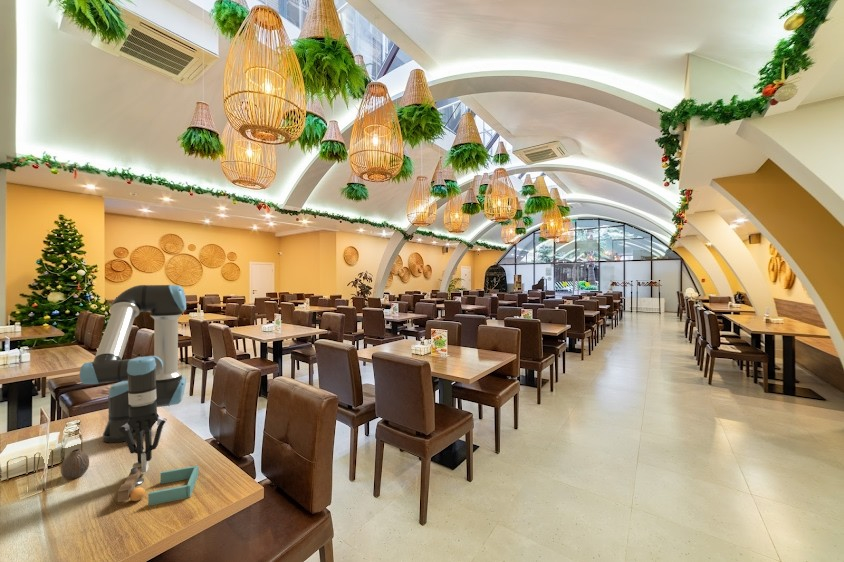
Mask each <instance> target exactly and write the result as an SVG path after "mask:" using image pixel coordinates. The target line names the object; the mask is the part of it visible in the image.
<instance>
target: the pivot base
mask: <svg viewBox="0 0 844 562" xmlns="http://www.w3.org/2000/svg"><path fill="white" fill-rule="evenodd" d="M144 481H145V479H144V478H142V477H139V479H138V481H137V483H136V485H135V487H134V488H137V487H139V486H140V485H142V484H143V483H144Z"/></svg>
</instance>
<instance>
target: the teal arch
mask: <svg viewBox="0 0 844 562" xmlns="http://www.w3.org/2000/svg"><path fill="white" fill-rule="evenodd" d="M198 477H199V465H193V466H187V467H186V466H185V467H181V468H175V469H170V470H164V471H161V472H160V485H162V484H167V483H168V484H169V483H172V482H173V483H174V482H177V481H183V480H188V482H187V484H185V485H179V486H174V487H170V488H164V489H158V490H155V491H150V492H148V495H147V496H148V503H147V504H148V506H154V505H158V504H164V503H168V502H174V501H178V500H179V501H180V500H183V499H184V500H185V499H187V498H188V499H189V498H191V496H192V494H193V492H194V488H195V487H196V486H195V485H196V482H197V479H198Z"/></svg>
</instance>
